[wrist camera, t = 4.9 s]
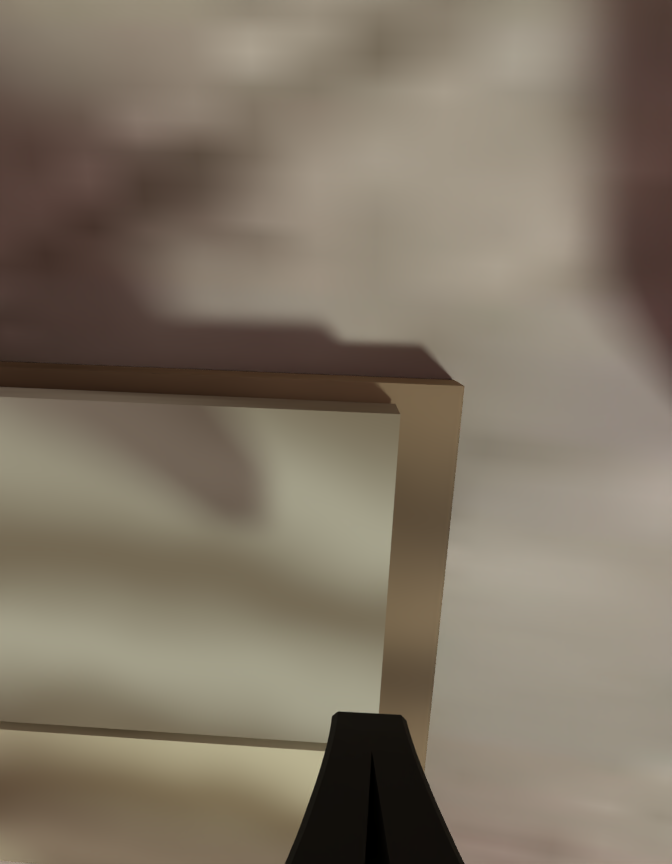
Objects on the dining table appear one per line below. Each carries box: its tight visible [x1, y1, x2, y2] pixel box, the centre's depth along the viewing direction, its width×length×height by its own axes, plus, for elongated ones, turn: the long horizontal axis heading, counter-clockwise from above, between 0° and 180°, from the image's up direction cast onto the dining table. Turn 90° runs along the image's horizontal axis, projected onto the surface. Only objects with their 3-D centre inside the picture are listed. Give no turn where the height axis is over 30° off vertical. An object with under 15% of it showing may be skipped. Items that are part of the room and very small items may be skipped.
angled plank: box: [0, 387, 400, 743], centre depth 14 cm, size 11×14×2 cm
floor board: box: [0, 361, 464, 864], centre depth 16 cm, size 19×18×3 cm
